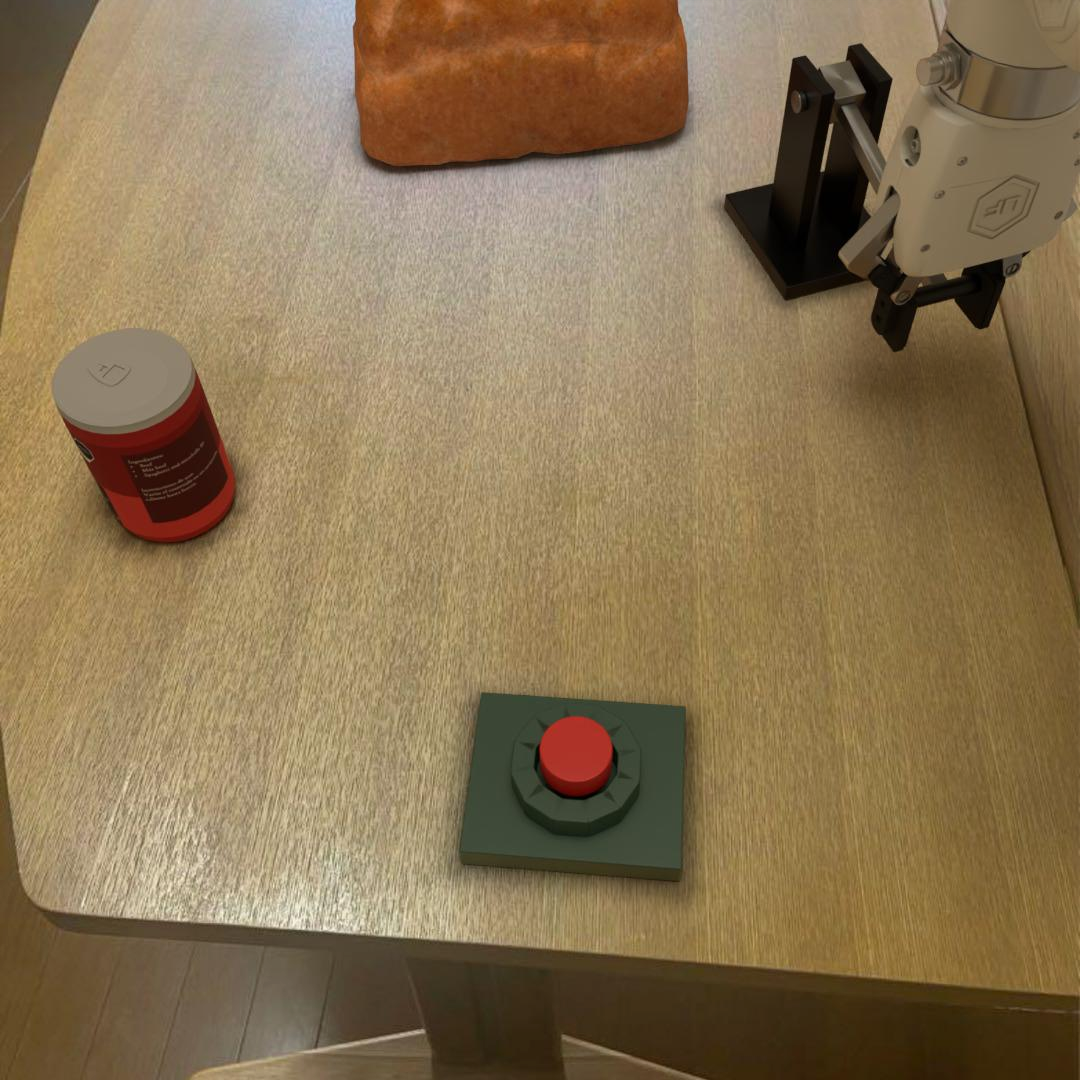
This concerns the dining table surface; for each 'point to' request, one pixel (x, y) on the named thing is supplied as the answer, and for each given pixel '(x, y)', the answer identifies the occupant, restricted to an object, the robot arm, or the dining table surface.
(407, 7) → the bread
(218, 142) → the dining table surface
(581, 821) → the button box
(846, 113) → the lever
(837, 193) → the bracket
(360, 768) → the dining table surface
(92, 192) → the dining table surface
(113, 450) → the canned food
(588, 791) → the button
